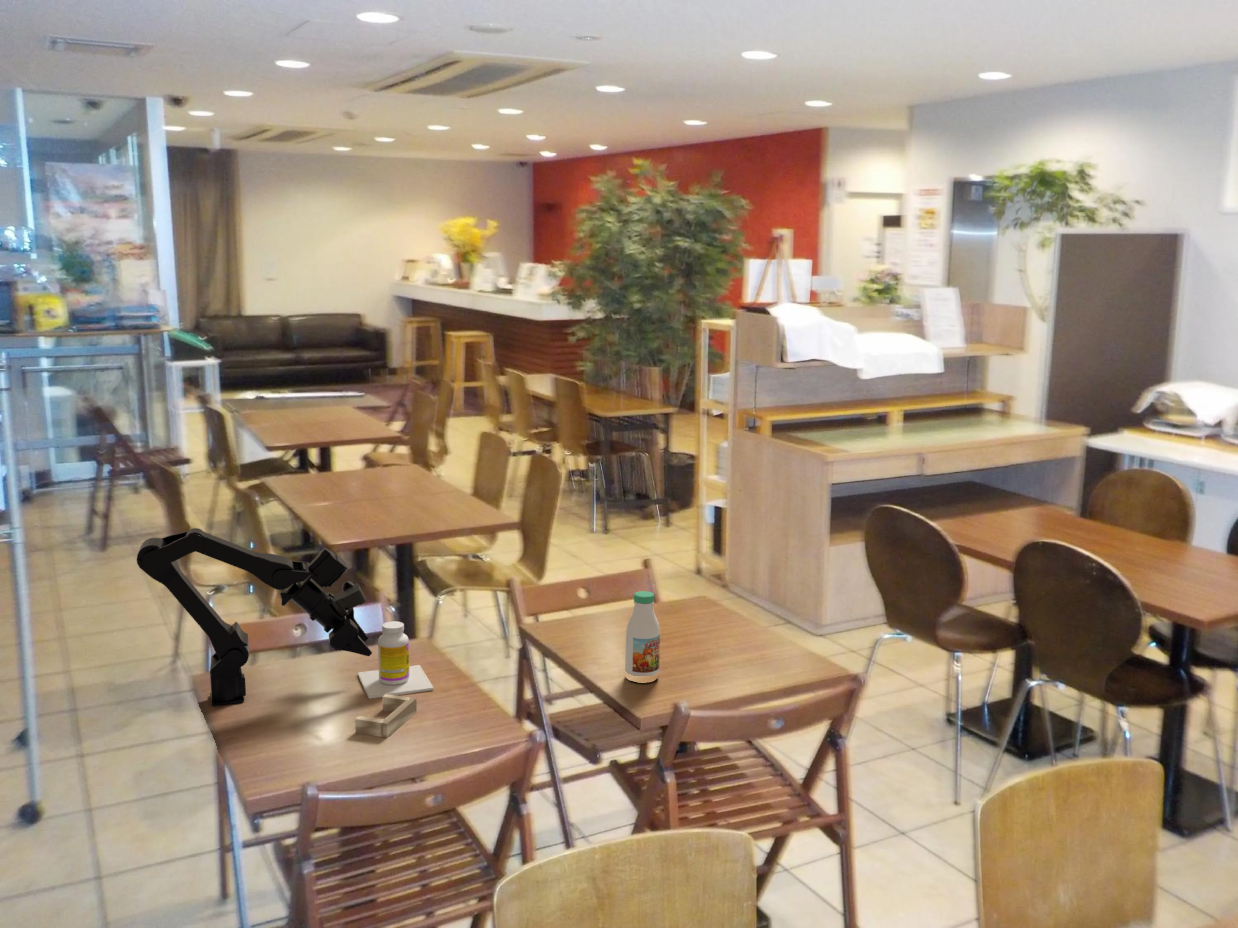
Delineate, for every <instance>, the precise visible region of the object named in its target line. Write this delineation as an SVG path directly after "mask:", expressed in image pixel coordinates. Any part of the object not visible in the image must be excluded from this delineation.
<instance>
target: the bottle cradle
mask: <svg viewBox="0 0 1238 928" xmlns="http://www.w3.org/2000/svg"><path fill="white" fill-rule="evenodd" d="M381 698H382V711H385V712H391V713H390V714H389V715H388V716H386V717H385V718H384V719H382V718H374V717H368V716H361V715H358V716H357V717H355V719H354V723H355V727H354V730H355V732H354V733H355V734H359V735H366V736H371V737H379V738H386V739H387V738H389V737H390V736H392V734H393V733H395V732H396V731H397V730H398V729H399V728H400V727H402V726H403V725H404V724H405V723H406V722H407V721H408V720H409V719H411V718H412V717H413V716H414V715H415V714H416V713H417V710H418V709H417V708H418V706H417V705H418V704H417V697H410V696H409V697H408V696H402V695H390V694H385V695H384V696H383V697H381Z"/></svg>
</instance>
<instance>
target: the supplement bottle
mask: <svg viewBox="0 0 1238 928" xmlns="http://www.w3.org/2000/svg"><path fill="white" fill-rule="evenodd" d="M404 630H405V623H403V622H402V621H401V622H400V621H394V620H393V621H386V622H384V623H383V624H382V626H381V631H382V635H380V636H379V638H378V639H377V649H378V650H377V654H378V657H377V659H378V660H377V661H378V670H379V680H380V682H382V683H384V684H387V685H397V684H402V683H405V682H406V681H407V680H408V679H409V666H410V642H409V641H410V640H409V637H408V635H407V634H405V633H404Z"/></svg>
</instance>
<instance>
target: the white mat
mask: <svg viewBox="0 0 1238 928" xmlns="http://www.w3.org/2000/svg"><path fill="white" fill-rule="evenodd" d="M357 676H359V677H358V679H359V681H360V683H361V685H362V688H363V690H364V692H365V693H366V696H367V698H368V699H369V700H371V699H379V698H382V697H383V696H384V695H385V694H390V695H397V696H402V695H409V694H415V693H423V692H430V691H432V692H433V691H434V690H435V688H434V685H433V684H432V682H431V681H430V679H429V678H428V676H427V674H426V672H425V671H424V669H423V668H422V666H421V665H420V664H417V665H416V664H414V665H409V679H408V680H407V681H406V682H405V683H402V684H397V685H387V684H384V683H382V682H380V680H379V669H376V670H367V671H361V672H360V671H359V672H357Z"/></svg>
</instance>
